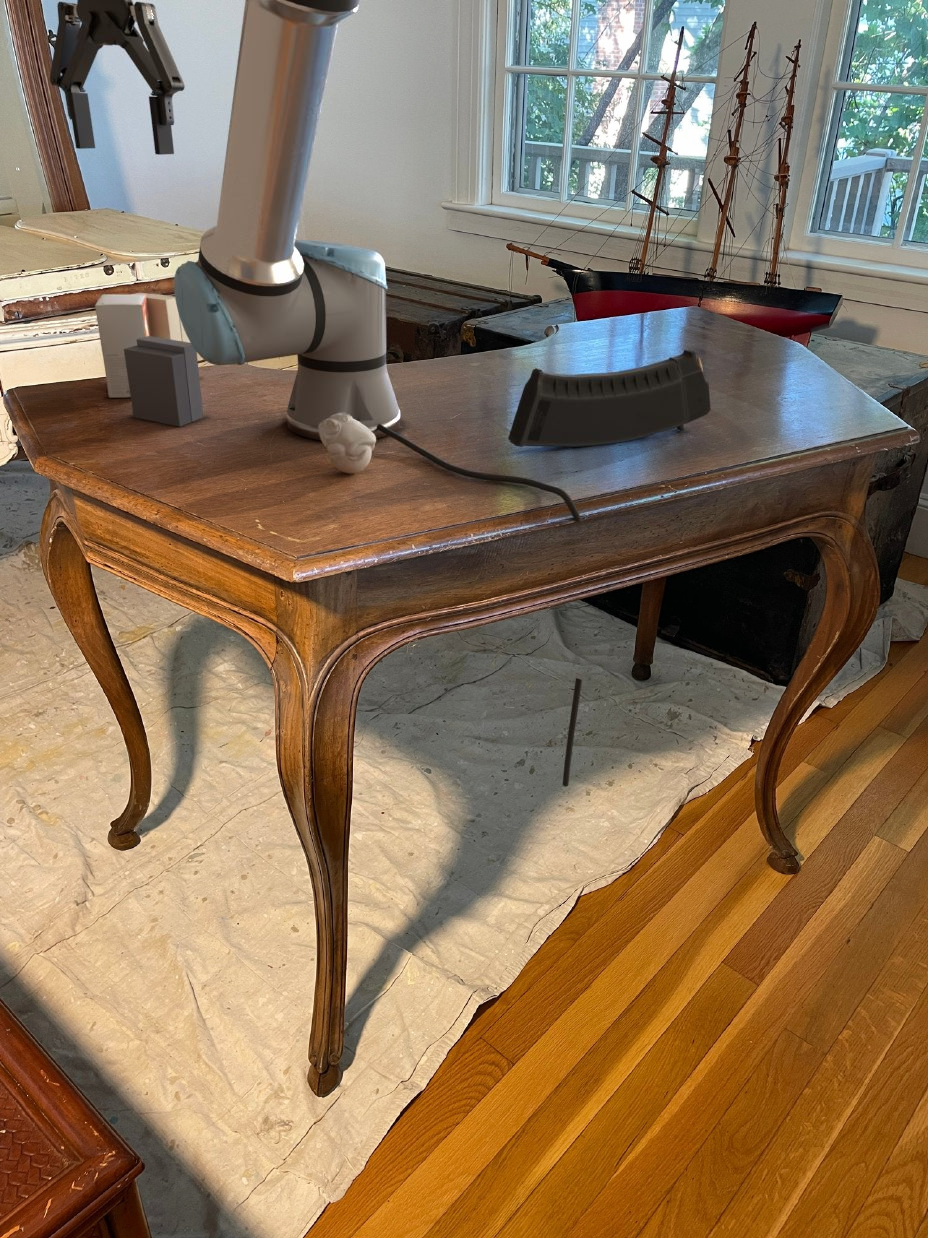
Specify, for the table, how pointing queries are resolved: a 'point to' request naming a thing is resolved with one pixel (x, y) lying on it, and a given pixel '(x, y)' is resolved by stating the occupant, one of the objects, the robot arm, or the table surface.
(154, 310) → the beige rectangular block
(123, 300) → the small box
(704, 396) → the magazine
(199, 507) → the table surface
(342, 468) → the plaster face bust
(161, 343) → the grey books
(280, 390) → the table surface
